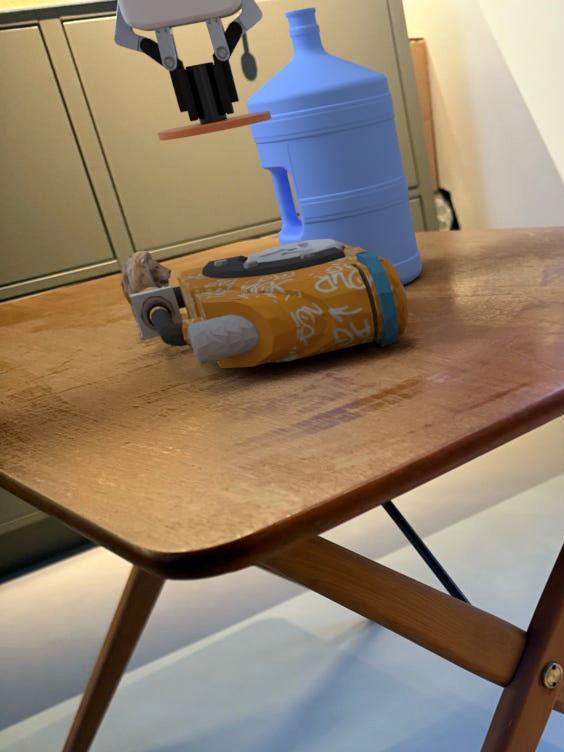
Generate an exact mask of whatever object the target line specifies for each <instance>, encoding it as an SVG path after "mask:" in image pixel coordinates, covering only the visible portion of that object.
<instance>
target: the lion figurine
mask: <svg viewBox="0 0 564 752" xmlns="http://www.w3.org/2000/svg"><path fill="white" fill-rule="evenodd" d="M171 276H172V269H171V268H168V267H167V266H164V265H162V264H160V263H159V261H157V260H154V259H153V257H152V253H150V252H149V251H146V250H141V251H136V252H134V253H133V254H131V255H130V256H129V257H128V259H126V260H125V263H124V265H123V268H122V277H121V280H120V285H121V291H122V294H123V296H124V298H125V299H126V301H127V303H128V304H129V306H130V310H131V311H130V312H131V314H132V316H133V318H134V321H135V322H136V326H137V328H138V329H140V327H139V324H138V321H137V318H136V315H135V311H134V308H133V305H132V302H131V299H130V295H131V294H136V293H140V292H142V291H143V290H145V289H147V288H148V287H158V288H163V287H168V286H170V281H169V279H171ZM138 337H139V339H140V340H144V339H143V337H142V334H141V331H140V330H139V334H138Z"/></svg>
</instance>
